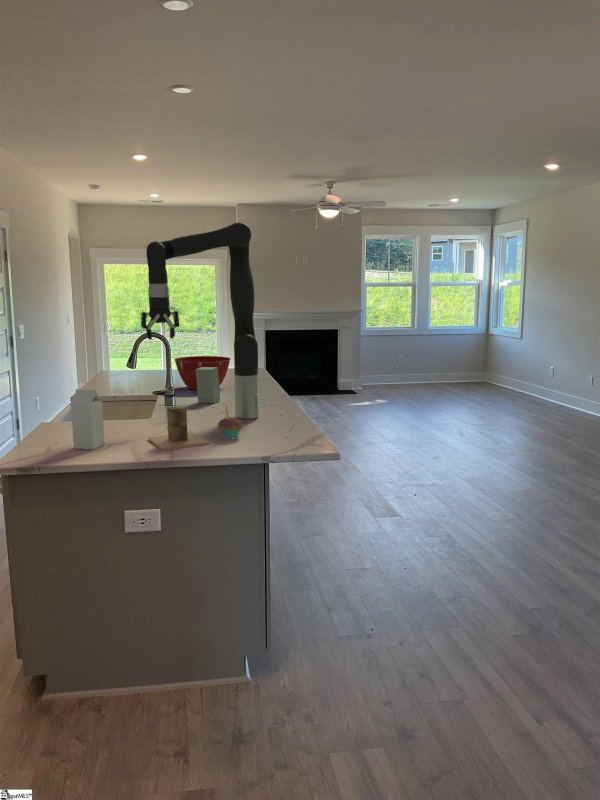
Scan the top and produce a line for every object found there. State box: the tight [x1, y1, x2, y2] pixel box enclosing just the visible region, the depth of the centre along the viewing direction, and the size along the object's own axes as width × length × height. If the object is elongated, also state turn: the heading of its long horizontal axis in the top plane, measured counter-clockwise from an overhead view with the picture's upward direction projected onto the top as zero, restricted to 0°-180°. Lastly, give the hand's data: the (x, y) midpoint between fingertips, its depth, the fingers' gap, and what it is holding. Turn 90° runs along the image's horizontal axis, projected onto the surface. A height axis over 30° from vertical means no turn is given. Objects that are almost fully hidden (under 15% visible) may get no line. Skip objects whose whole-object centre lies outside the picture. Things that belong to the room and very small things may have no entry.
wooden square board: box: [147, 431, 210, 451], centre depth 209 cm, size 16×16×1 cm
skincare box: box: [196, 367, 221, 404], centre depth 278 cm, size 8×7×16 cm
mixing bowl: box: [173, 355, 232, 391], centre depth 317 cm, size 28×28×16 cm
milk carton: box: [70, 389, 105, 450], centre depth 201 cm, size 7×7×19 cm
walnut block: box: [166, 405, 188, 442], centre depth 208 cm, size 5×5×11 cm
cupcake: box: [217, 405, 243, 440], centre depth 214 cm, size 9×8×12 cm
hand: (161, 338), depth 238 cm, fingers open, 8 cm apart
